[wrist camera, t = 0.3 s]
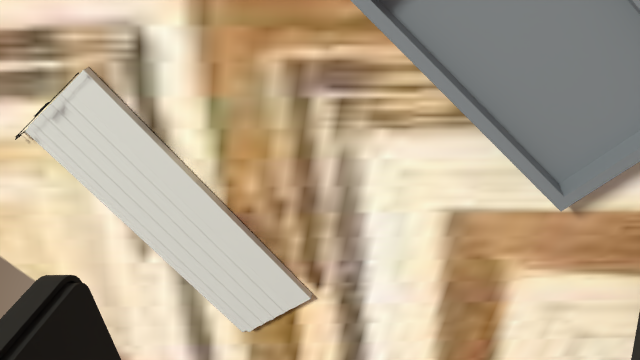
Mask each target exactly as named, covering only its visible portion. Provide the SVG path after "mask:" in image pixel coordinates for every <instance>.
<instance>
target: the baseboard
mask: <svg viewBox="0 0 640 360" xmlns="http://www.w3.org/2000/svg"><path fill="white" fill-rule="evenodd" d="M78 74H79V72H78V73H77V74H76V75H78ZM76 75H75V76H76ZM71 81H72V80H71ZM71 81H70V82H71ZM70 82H69V83H70ZM69 83H68V84H69ZM68 84H67V85H68ZM67 85H66V86H67ZM66 86H65V87H66ZM65 87H64V88H65ZM64 88H63V89H64ZM63 89H62V90H63ZM62 90H61V91H62ZM61 91H60V92H61ZM60 92H59V93H60ZM59 93H58V94H59ZM58 94H57V95H58ZM57 95H56V96H57ZM56 96H55V97H56ZM55 97H54V98H55ZM54 98H53V99H54ZM53 99H52V100H53ZM52 100H51V101H52ZM51 101H50V102H51ZM50 102H48V103H46V104H45V106H43V107H42V108H41V109H40V110H39V112H38V113H37V114H36V115H35V116H37V115H38V114H39V113H40V112H41V111H42V110H43V109H44V108H45V107H46V106H47V105H48V104H49V103H50ZM30 123H31V122H30ZM30 123H29V124H30ZM29 124H28V125H29ZM28 125H27V126H28ZM27 126H26V127H27ZM26 127H25V128H26ZM25 128H24V129H25ZM24 129H23V130H24ZM23 130H22V131H23ZM22 131H21V132H22ZM21 132H20V133H21ZM24 132H26V133H27V134H29V135H30V136H31V137H32V138H33V139H34V140H35V141H36V142H37V143H38V144H39V145H40V146H42V147H43V148H44V149H45V150H46V151H47V152H48V153H49V154H50V155H51V156H52V157H53V158H55V159H56V160H57V161H58V162H59V163H60V164H61V165H62V166H63V167H64V168H65V169H66V170H68V171H69V172H70V173H71V174H72V175H73V176H74V177H75V178H76V179H77V180H78V181H79V182H81V183H82V184H83V185H84V186H85V187H86V188H87V189H88V190H89V191H90V192H91V193H92V194H93V195H95V196H96V197H97V198H98V199H99V200H100V201H101V202H102V203H103V204H104V205H105V206H106V207H108V208H109V209H110V210H111V211H112V212H113V213H114V214H115V215H116V216H117V217H118V218H119V219H121V220H122V221H123V222H124V223H125V224H126V225H127V226H128V227H129V228H130V229H131V230H132V231H134V232H135V233H136V234H137V235H138V236H139V237H140V238H141V239H142V240H143V241H144V242H145V243H147V244H148V245H149V246H150V247H151V248H152V249H153V250H154V251H155V252H156V253H157V254H158V255H159V256H161V257H162V258H163V259H164V260H165V261H166V262H167V263H168V264H169V265H170V266H171V267H172V268H174V269H175V270H176V271H177V272H178V273H179V274H180V275H181V276H182V277H183V278H184V279H185V280H187V281H188V282H189V283H190V284H191V285H192V286H193V287H194V288H195V289H196V290H197V291H198V292H200V293H201V294H202V295H203V296H204V297H205V298H206V299H207V300H208V301H209V302H210V303H211V304H213V305H214V306H215V307H216V308H217V309H218V310H219V311H220V312H221V313H222V314H223V315H224V316H225V317H227V318H228V319H229V320H230V321H231V322H232V323H233V324H234V325H235V326H236V327H237V328H238V329H240V330H241V331H242V332H244V331H248V332H250V331H252V330H253V329H254V328H256V327H258V326H261V325H263V324H264V323H266V322H267V321H269V320H272V319H274V318H275V317H277V316H279V315H281V314H283V313H285V312H286V311H288V310H290V309H293V308H295V307H296V306H298V305H300V304H302V303H304V302H306V301H308V300H310V299H311V296H312V293H311V292H310V291H309V290H308V289H307V288H306V287H305V286H304V285H303V284H302V283H301V282H300V281H299V280H298V279H297V278H296V277H295V276H294V275H293V274H292V273H291V272H290V271H289V270H288V269H287V268H286V267H285V266H284V265H283V264H282V263H281V262H280V261H279V260H278V259H277V258H276V257H275V256H274V255H273V254H272V253H271V251H270V250H269V249H268V248H267V247H266V246H265V245H264V244H263V243H262V242H261V241H260V240H259V239H258V238H257V237H256V236H255V235H254V234H253V233H252V232H251V231H250V230H249V229H248V228H247V227H246V226H245V225H244V224H243V223H242V222H241V221H240V220H239V219H238V218H237V217H236V216H235V215H234V214H233V213H232V212H231V211H230V210H229V209H228V208H227V207H226V206H225V205H224V204H223V203H222V202H221V201H220V200H219V199H218V198H217V197H216V196H215V195H214V194H213V193H212V192H211V191H210V190H209V189H208V188H207V187H206V186H205V185H204V184H203V183H202V182H201V181H200V180H199V179H198V178H197V177H196V176H195V175H194V174H193V173H192V172H191V171H190V169H189V168H188V167H187V166H186V165H185V164H184V163H183V162H182V161H181V160H180V159H179V158H178V157H177V156H176V155H175V154H174V153H173V152H172V151H171V150H170V149H169V148H168V147H167V146H166V145H165V144H164V143H163V142H162V141H161V140H160V139H159V138H158V137H157V136H156V135H155V134H154V133H153V132H152V131H151V130H150V129H149V128H148V127H147V126H146V125H145V124H144V123H143V122H142V121H141V120H140V119H139V118H138V117H137V116H136V115H135V114H134V113H133V112H132V111H131V110H130V109H129V108H128V107H127V106H126V105H125V104H124V103H123V102H122V101H121V100H120V99H119V98H118V97H117V96H116V95H115V94H114V93H113V92H112V91H111V90H110V89H109V88H108V86H107V85H106V84H105V83H104V82H103V81H102V80H101V79H100V78H99V77H98V76H97V75H96V74H95V73H94V72H93V71H92V70H91V69H90V68H89V67H88V68H86V69H84V70H83V71H82V72H81V73H80V74H79V75H78V76H77V77H76V78H75V79H74V80H73V81H72V82H71V83H70V84H69V85H68V86H67V88H66V89H65V90H64V91H63V92H62V93H61V94H60V95H59V96H58V97H57V98H56V99H55V100H54V101H53V102H52V103H51V104H50V105H49V106H48V107H47V108H46V109H45V110H44V111H43V112H42V113H41V114H40V115H39V116H38V117H37V118H36V119H35V120H34V121H33V122H32V123H31V124H30V125H29V126H28V128H27V130H25V131H24ZM24 132H23V133H24ZM20 133H19V134H20ZM23 133H21V134H23ZM19 134H18V135H17V136H16V139H17V138H18V136H19V137H20V136H21V134H20V135H19ZM16 139H15V140H16Z"/></svg>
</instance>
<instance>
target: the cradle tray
mask: <svg viewBox="0 0 640 360" xmlns="http://www.w3.org/2000/svg"><path fill="white" fill-rule="evenodd" d="M351 1H352V2H353V3H354V4H355V5H356V6H357V7H358V8H359V9H360V10H361V11H362V12H363V13H364V14H365V15H366V16H367V17H368V18H369V19H370V20H371V21H372V22H373V23H374V24H375V25H376V26H377V27H378V28H379V29H380V30H381V31H382V32H383V33H384V34H385V35H386V36H387V37H388V38H389V39H390V40H391V41H392V42H393V43H394V44H395V45H396V46H397V47H398V48H399V49H400V50H401V51H402V52H403V53H404V54H405V55H406V56H407V57H408V58H409V59H410V60H411V61H412V62H413V64H414V65H415V66H416V67H417V68H418V69H419V70H420V71H421V72H422V73H423V74H424V75H425V76H426V77H427V78H428V79H429V80H430V81H431V82H432V83H433V84H434V85H435V86H436V87H437V88H438V89H439V90H440V91H441V92H442V93H443V94H444V95H445V96H446V97H447V98H448V99H449V100H450V101H451V102H452V103H453V104H454V105H455V106H456V107H457V108H458V109H459V110H460V111H461V112H462V113H463V114H464V115H465V116H466V117H467V118H468V119H469V120H470V121H471V122H472V123H473V124H474V125H475V126H476V127H477V128H478V129H479V130H480V131H481V132H482V133H483V134H484V135H485V136H486V137H487V138H488V139H489V140H490V141H491V142H492V143H493V144H494V145H495V146H496V147H497V148H498V149H499V150H500V151H501V152H502V153H503V154H504V155H505V156H506V157H507V158H508V159H509V160H510V161H511V162H512V163H513V164H514V165H515V166H516V167H517V168H518V169H519V170H520V171H521V172H522V173H523V174H524V175H525V176H526V177H527V178H528V179H529V180H530V181H531V182H532V183H533V184H534V185H535V186H536V187H537V188H538V189H539V190H540V191H541V192H542V193H543V194H544V195H545V196H546V197H547V198H548V199H549V200H550V201H551V202H552V203H553V204H554V205H555V206H556V207H557V208H558V209H559V210H560V211H562V210H564V209H566V208H567V207H569V206H570V205H572V204H574V203H575V202H577V201H578V200H580V199H581V198H583V197H585V196H586V195H588V194H589V193H591V192H592V191H594V190H596V189H597V188H599V187H600V186H602V185H603V184H605V183H607V182H608V181H610V180H611V179H613V178H615V177H616V176H618V175H619V174H621V173H622V172H624V171H626V170H627V169H629V168H630V167H632V166H633V165H635V164H637V163H638V162H640V0H351Z"/></svg>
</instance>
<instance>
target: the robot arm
mask: <svg viewBox="0 0 640 360" xmlns="http://www.w3.org/2000/svg"><path fill="white" fill-rule="evenodd" d="M0 360H121V358H120V356H119V354H118V352H117V349H116V347H115V345H114V343H113V340H112V338H111V336H110V334H109V332H108V329H107V327H106V325H105V323H104V321H103V318H102V316H101V314H100V312H99V309H98V307H97V305H96V303H95V301H94V298H93V296H92V294H91V292H90V289H89V288H88V286H87V285H86V284H84V283H82V282H81V280H80V279H79V278H78V277H77V276H74V275H45V276H42V277H40V278H39V279H38V280H36V281H35V283H34V284H33V285H32V286H31V287H30V288H29V289H28V290H27V291H26V292H25V293H24V294H23V295H22V296H21V298H20V299H19V300H18V301H17V302H16V303H15V304H14V305H13V306H12V308H10V309H9V310H8V312H7V313H6V314H5V315H4V316H3V317H2V318H1V319H0ZM631 360H640V313H639V319H638V324H637V330H636V336H635V341H634V347H633V353H632V358H631Z"/></svg>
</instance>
